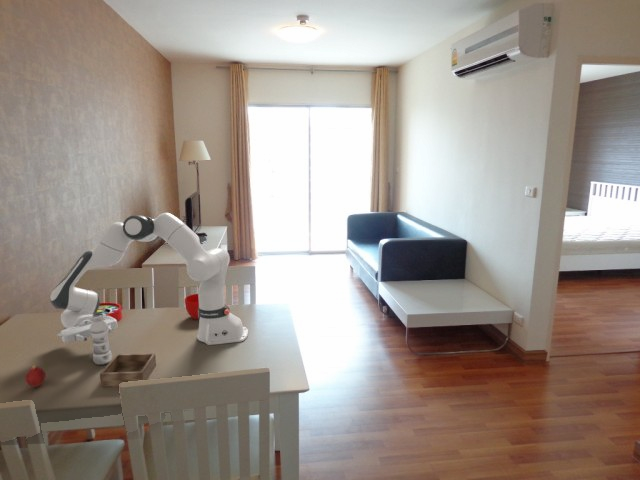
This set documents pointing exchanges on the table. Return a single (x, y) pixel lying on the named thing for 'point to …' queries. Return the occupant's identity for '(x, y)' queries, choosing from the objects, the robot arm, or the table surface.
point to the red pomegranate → (35, 376)
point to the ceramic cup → (192, 305)
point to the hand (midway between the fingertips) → (97, 335)
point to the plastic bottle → (100, 340)
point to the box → (128, 368)
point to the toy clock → (111, 310)
